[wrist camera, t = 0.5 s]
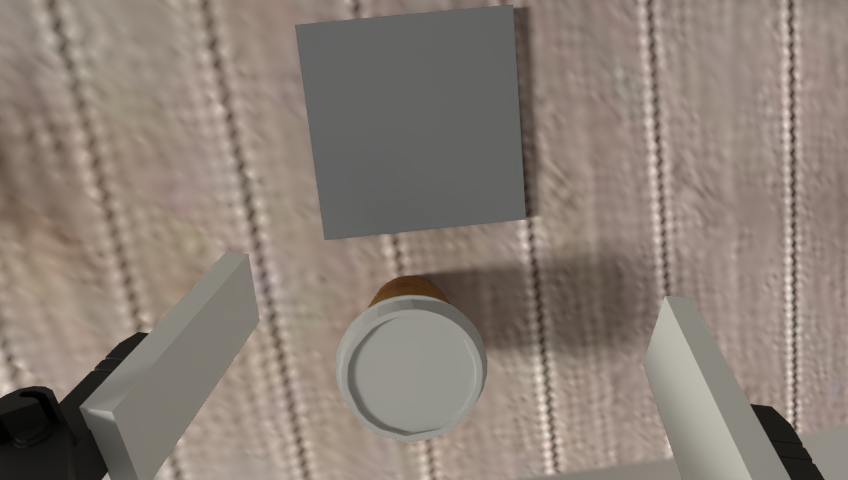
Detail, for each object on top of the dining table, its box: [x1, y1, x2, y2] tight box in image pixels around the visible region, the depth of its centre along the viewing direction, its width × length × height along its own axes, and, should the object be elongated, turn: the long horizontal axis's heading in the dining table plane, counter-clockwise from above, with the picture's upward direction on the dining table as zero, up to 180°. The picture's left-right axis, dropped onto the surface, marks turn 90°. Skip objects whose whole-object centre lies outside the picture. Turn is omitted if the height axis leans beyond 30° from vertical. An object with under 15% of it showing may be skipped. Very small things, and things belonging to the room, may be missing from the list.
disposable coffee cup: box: [335, 276, 487, 442], centre depth 36 cm, size 10×10×12 cm
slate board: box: [295, 5, 526, 240], centre depth 39 cm, size 16×16×1 cm
